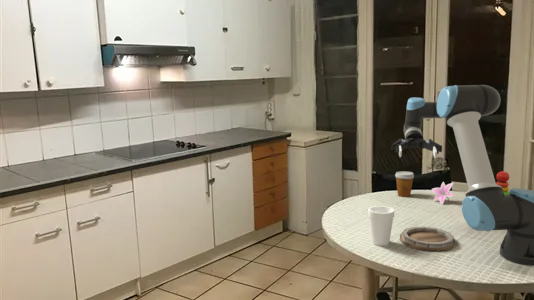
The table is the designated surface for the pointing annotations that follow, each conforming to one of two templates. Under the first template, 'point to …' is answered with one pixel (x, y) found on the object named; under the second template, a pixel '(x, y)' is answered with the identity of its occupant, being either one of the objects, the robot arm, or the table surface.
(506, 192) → the stacking toy
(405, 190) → the disposable coffee cup
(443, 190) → the lily
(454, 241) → the plate
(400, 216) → the table surface
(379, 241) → the foam cup
